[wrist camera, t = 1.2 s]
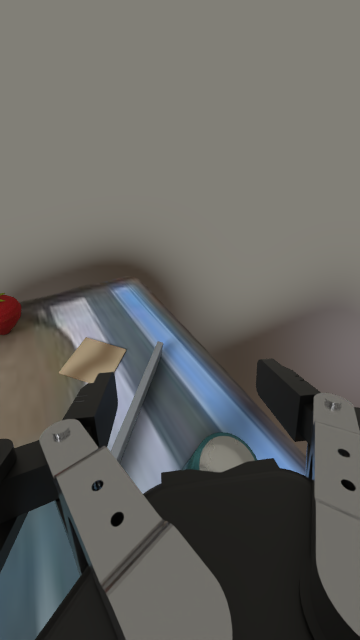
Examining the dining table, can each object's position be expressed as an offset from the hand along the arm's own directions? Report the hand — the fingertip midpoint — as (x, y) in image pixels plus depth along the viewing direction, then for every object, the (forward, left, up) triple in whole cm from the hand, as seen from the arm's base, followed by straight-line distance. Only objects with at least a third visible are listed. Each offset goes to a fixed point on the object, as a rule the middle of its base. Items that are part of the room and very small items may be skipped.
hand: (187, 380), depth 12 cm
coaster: (-15, +13, -23) cm, 30 cm away
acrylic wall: (-5, +6, -23) cm, 24 cm away
